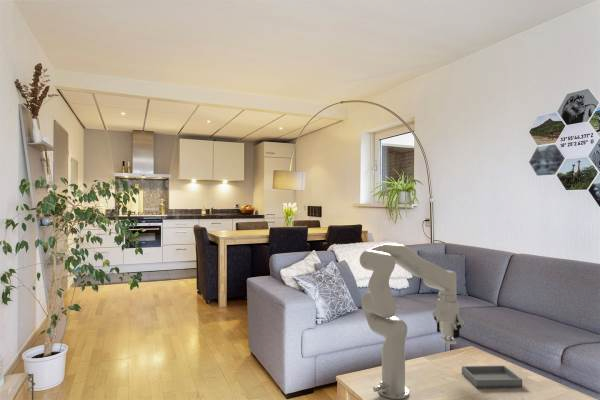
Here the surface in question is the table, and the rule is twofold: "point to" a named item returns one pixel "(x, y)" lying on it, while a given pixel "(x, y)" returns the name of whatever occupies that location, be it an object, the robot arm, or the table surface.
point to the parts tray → (491, 377)
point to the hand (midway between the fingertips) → (447, 334)
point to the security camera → (447, 332)
